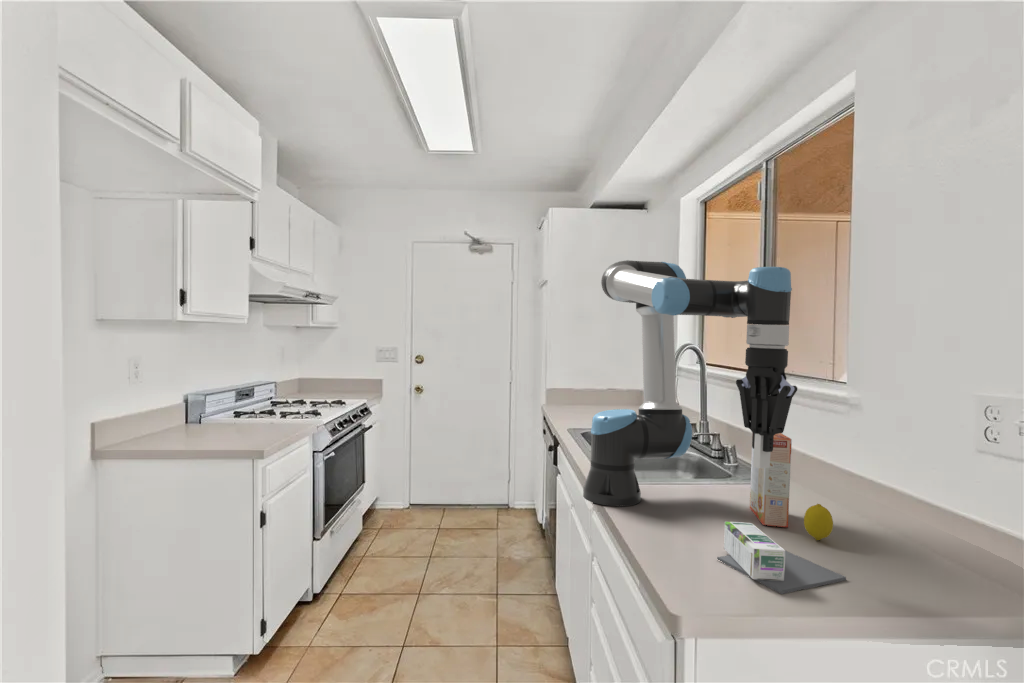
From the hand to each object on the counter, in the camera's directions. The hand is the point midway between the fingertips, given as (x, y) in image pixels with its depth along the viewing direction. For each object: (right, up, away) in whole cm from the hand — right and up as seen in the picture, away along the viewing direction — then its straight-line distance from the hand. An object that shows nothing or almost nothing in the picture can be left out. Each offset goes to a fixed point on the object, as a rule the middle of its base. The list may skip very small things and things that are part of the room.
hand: (761, 466), depth 109 cm
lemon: (+17, -19, +12) cm, 28 cm away
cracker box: (+13, -19, +26) cm, 35 cm away
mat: (+1, -18, -4) cm, 19 cm away
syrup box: (-3, -15, +4) cm, 16 cm away
